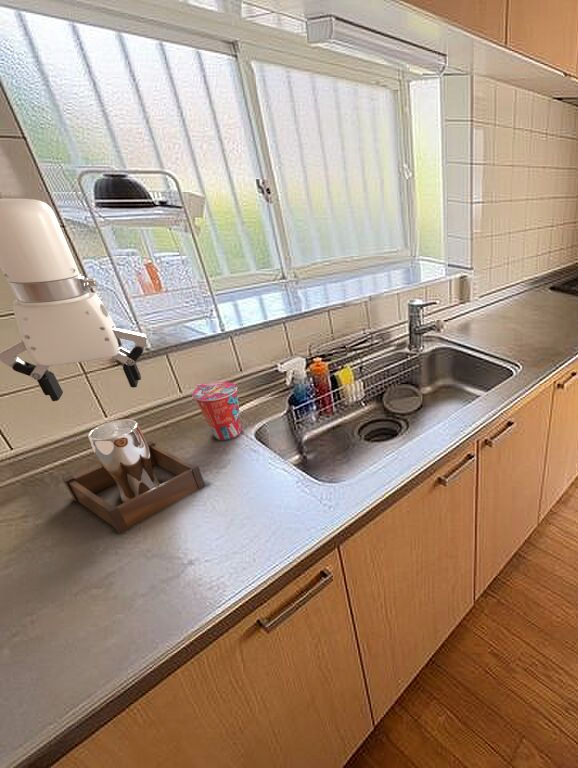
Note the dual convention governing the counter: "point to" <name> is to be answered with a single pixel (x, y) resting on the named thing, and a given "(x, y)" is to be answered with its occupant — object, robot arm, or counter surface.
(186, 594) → the counter surface
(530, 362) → the counter surface
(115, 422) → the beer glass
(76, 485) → the tray
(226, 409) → the cup
